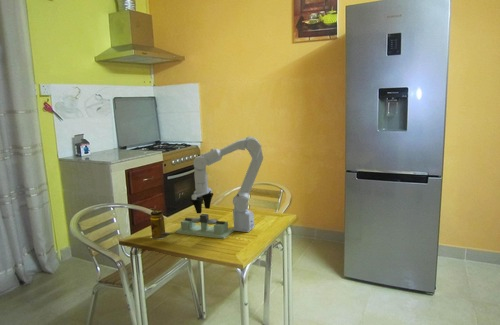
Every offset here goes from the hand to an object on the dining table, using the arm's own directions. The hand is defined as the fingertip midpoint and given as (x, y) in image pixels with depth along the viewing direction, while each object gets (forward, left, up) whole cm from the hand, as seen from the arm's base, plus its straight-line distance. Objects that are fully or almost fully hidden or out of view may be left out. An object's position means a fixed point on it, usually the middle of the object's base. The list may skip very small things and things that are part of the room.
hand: (203, 210), depth 155 cm
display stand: (0, 0, -10) cm, 10 cm away
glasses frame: (0, 0, -5) cm, 5 cm away
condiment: (+18, +10, -11) cm, 23 cm away
